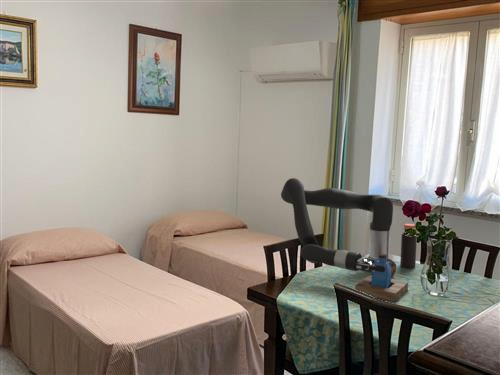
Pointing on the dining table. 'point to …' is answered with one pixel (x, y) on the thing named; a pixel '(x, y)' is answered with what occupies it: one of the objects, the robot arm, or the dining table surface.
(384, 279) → the perfume bottle
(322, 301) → the dining table surface
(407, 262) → the vinegar
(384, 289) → the walnut hole block
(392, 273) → the decorative turtle
